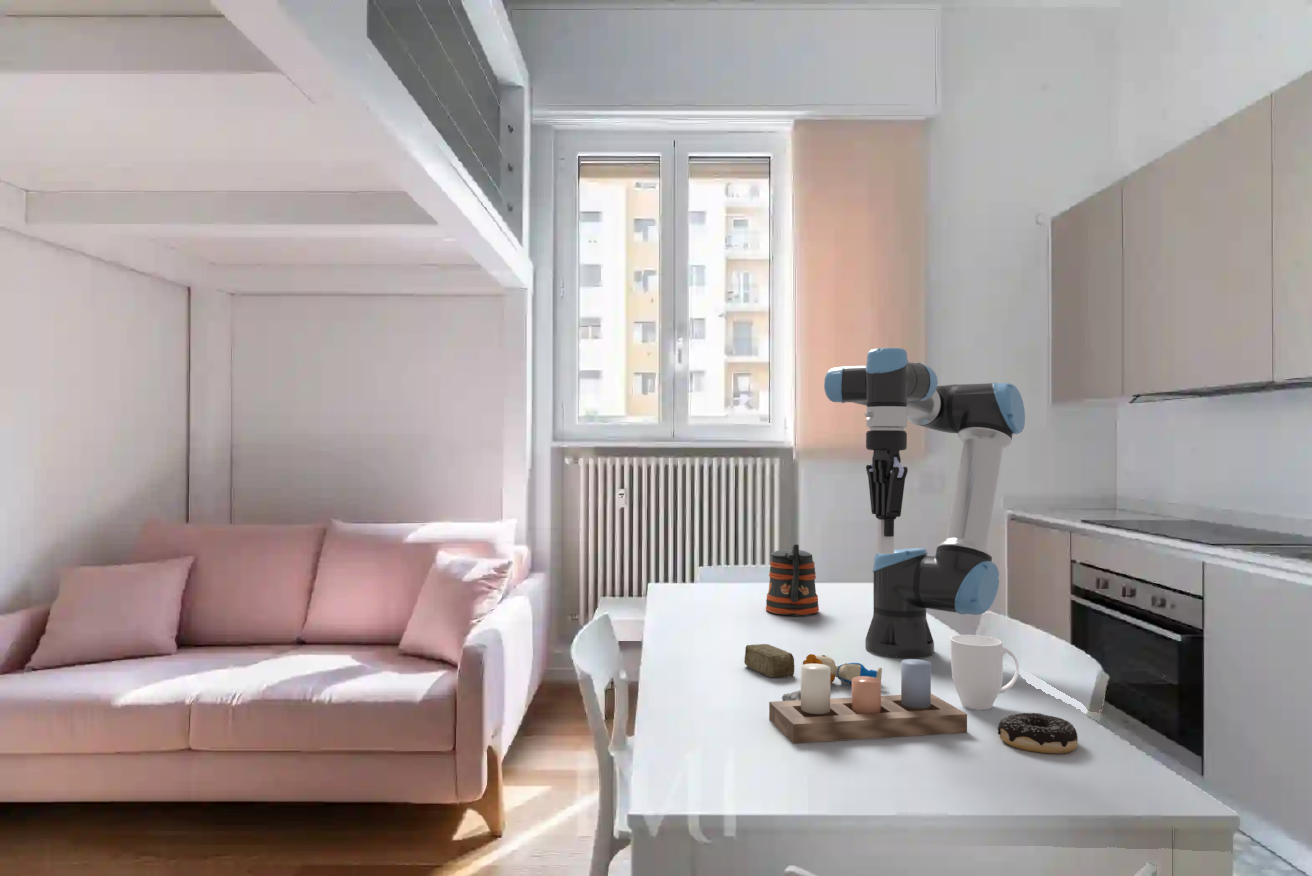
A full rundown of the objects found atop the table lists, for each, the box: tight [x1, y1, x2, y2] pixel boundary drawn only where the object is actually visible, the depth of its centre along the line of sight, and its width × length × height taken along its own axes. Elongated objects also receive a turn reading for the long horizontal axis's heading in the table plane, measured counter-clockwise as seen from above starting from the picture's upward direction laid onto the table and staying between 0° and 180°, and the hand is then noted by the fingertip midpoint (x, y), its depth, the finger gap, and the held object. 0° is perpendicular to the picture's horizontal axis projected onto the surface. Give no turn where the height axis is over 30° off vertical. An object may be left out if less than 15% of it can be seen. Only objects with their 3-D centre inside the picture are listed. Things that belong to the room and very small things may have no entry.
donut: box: [997, 712, 1079, 754], centre depth 139 cm, size 11×12×4 cm
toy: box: [802, 653, 883, 685], centre depth 172 cm, size 12×6×15 cm
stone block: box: [743, 643, 795, 679], centre depth 181 cm, size 6×12×5 cm, turn 26°
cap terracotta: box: [851, 676, 882, 714], centre depth 147 cm, size 5×5×7 cm
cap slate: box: [900, 658, 932, 708], centre depth 149 cm, size 5×5×7 cm
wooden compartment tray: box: [768, 693, 968, 744], centre depth 147 cm, size 30×12×3 cm, turn 101°
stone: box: [781, 689, 801, 701], centre depth 157 cm, size 6×12×4 cm, turn 143°
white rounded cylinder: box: [800, 664, 831, 714], centre depth 145 cm, size 5×5×7 cm
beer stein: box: [765, 543, 820, 617], centre depth 242 cm, size 19×15×20 cm
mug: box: [949, 634, 1020, 711], centre depth 159 cm, size 12×9×12 cm
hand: (885, 553), depth 167 cm, fingers closed
